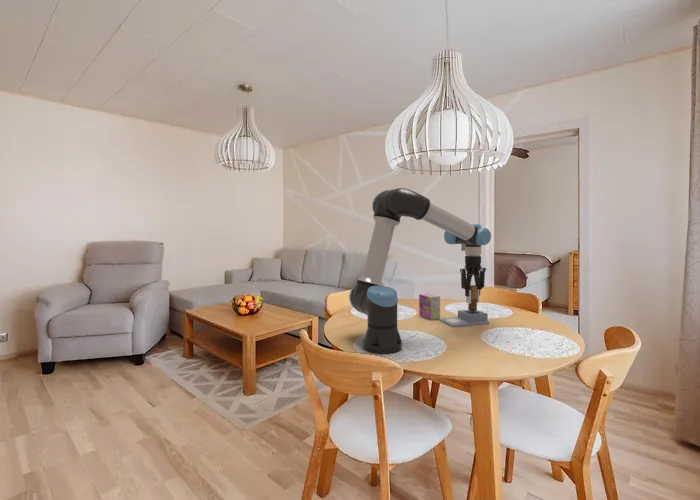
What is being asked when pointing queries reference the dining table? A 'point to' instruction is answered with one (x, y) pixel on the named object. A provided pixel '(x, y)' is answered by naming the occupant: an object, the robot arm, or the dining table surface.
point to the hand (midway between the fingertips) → (472, 302)
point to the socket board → (464, 323)
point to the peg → (473, 298)
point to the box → (429, 306)
